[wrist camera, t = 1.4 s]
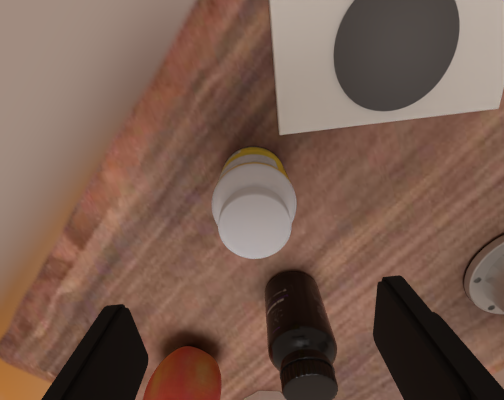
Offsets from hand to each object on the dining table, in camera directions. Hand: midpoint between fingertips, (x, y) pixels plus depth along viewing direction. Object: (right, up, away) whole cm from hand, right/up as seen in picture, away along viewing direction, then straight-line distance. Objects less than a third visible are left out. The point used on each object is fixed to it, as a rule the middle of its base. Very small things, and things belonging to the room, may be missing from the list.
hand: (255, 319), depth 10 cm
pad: (+12, +17, +12) cm, 24 cm away
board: (+12, +18, +13) cm, 25 cm away
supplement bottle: (+5, -7, +23) cm, 25 cm away
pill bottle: (0, +7, +17) cm, 19 cm away
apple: (-9, -18, +28) cm, 34 cm away
